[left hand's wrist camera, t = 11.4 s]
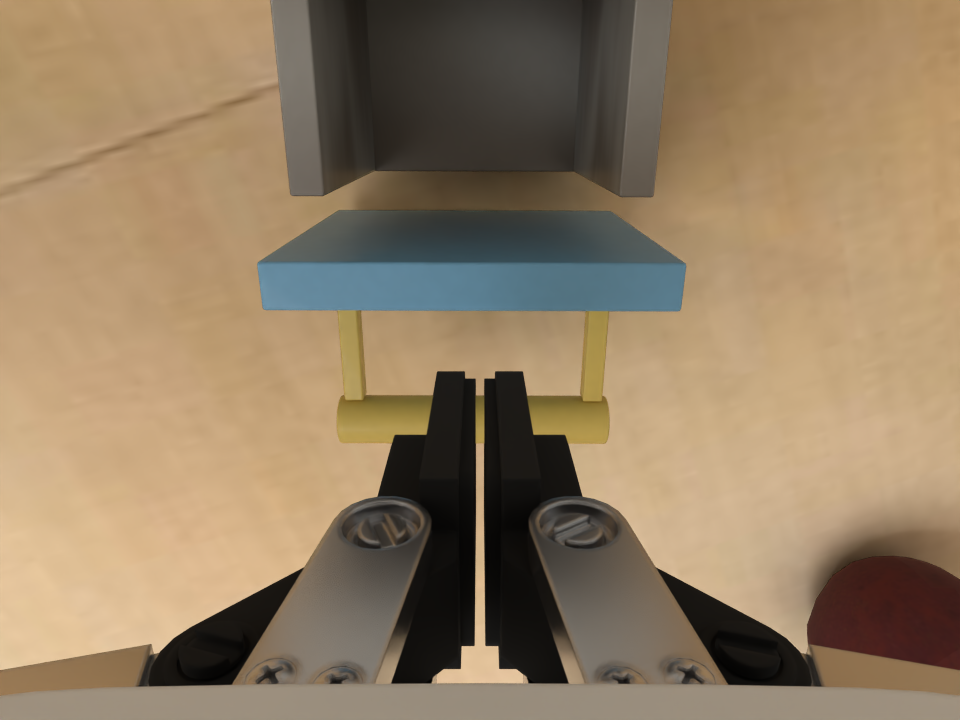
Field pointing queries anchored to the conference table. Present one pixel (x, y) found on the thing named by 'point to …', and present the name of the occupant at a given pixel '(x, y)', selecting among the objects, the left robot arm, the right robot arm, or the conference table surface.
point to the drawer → (471, 147)
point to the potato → (890, 611)
